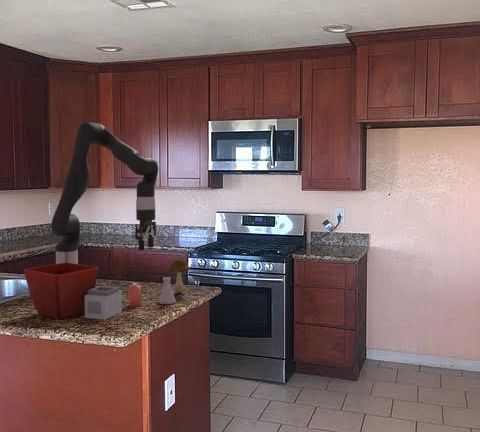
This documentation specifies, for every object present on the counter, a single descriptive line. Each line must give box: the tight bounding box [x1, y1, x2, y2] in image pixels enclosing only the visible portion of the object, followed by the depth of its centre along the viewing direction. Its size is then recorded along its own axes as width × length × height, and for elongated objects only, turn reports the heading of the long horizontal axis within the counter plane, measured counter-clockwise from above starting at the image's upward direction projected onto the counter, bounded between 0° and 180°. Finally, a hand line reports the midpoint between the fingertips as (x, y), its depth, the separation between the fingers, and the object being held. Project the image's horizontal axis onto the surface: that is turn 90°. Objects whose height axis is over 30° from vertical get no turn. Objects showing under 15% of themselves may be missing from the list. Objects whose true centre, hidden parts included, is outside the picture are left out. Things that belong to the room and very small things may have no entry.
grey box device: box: [84, 285, 123, 320], centre depth 207 cm, size 8×12×10 cm, turn 162°
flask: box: [157, 276, 176, 305], centre depth 227 cm, size 7×7×10 cm
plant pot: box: [23, 263, 99, 320], centre depth 209 cm, size 19×19×17 cm
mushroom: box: [168, 258, 191, 294], centre depth 246 cm, size 9×11×15 cm
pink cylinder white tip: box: [128, 282, 142, 308], centre depth 223 cm, size 5×5×8 cm
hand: (146, 248), depth 228 cm, fingers open, 8 cm apart
